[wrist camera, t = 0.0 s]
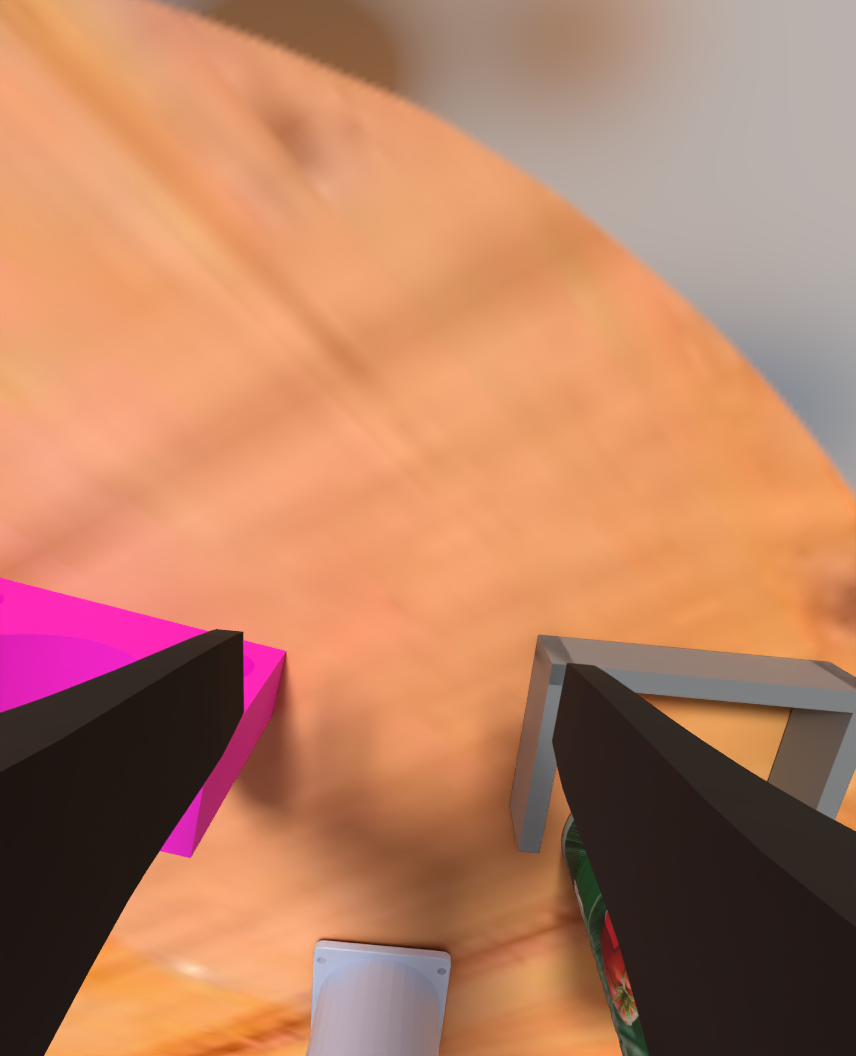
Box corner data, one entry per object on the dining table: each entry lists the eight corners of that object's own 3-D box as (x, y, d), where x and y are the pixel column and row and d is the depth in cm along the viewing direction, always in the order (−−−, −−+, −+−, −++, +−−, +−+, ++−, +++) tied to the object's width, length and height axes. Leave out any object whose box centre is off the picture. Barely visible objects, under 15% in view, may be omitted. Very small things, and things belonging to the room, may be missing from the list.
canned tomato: (629, 752, 21) (820, 1075, 11) (740, 827, 22) (1018, 1193, 12) (530, 849, 23) (612, 1215, 12) (638, 916, 24) (800, 1309, 13)
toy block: (-21, 681, 22) (-256, 811, 14) (-19, 570, 20) (-279, 652, 13) (265, 751, 22) (181, 910, 15) (287, 648, 21) (205, 769, 13)
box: (770, 829, 22) (811, 878, 20) (509, 805, 22) (518, 851, 20) (830, 662, 20) (884, 694, 18) (538, 634, 20) (552, 663, 18)
